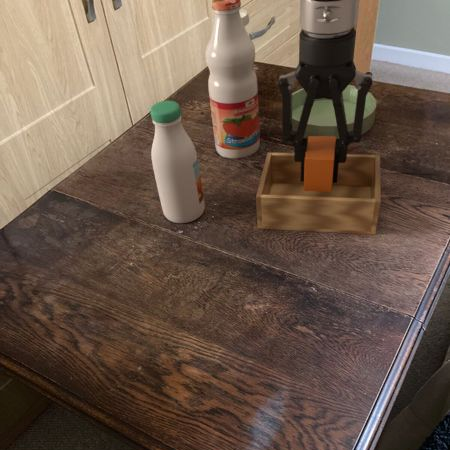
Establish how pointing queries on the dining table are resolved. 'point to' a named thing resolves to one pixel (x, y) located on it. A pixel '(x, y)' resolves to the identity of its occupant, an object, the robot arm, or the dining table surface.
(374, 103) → the bowl
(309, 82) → the robot arm
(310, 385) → the dining table surface
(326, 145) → the box
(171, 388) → the dining table surface
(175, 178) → the milk bottle
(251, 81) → the fruit juice
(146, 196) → the dining table surface
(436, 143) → the dining table surface
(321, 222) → the holder
